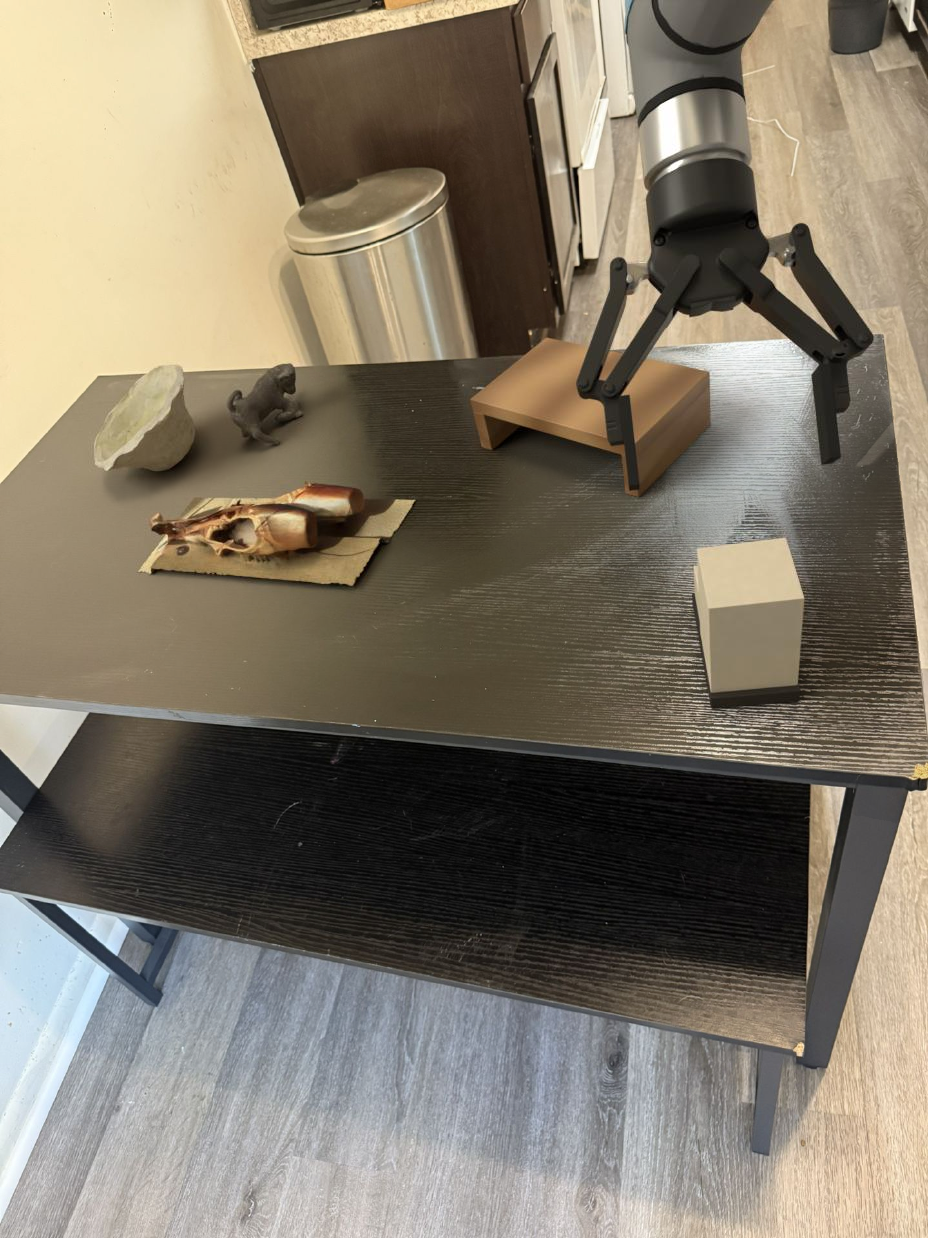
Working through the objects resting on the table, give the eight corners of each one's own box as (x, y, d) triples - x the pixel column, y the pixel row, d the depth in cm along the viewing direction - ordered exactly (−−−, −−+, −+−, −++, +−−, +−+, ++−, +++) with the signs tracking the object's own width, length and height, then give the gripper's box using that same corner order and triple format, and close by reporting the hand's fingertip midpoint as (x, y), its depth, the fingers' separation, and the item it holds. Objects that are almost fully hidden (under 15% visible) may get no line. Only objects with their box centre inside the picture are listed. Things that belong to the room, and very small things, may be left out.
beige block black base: (799, 701, 62) (807, 603, 55) (710, 709, 63) (707, 614, 56) (771, 594, 70) (775, 496, 63) (692, 603, 71) (687, 508, 64)
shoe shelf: (711, 424, 87) (709, 371, 83) (638, 497, 82) (633, 444, 78) (554, 385, 99) (546, 337, 95) (481, 447, 93) (469, 399, 89)
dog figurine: (269, 454, 102) (244, 400, 97) (233, 449, 105) (207, 396, 100) (324, 398, 109) (304, 344, 104) (289, 395, 111) (267, 342, 106)
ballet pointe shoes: (351, 542, 76) (98, 537, 86) (373, 594, 81) (132, 584, 91) (398, 446, 85) (164, 451, 94) (416, 498, 89) (191, 498, 99)
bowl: (112, 448, 112) (71, 380, 105) (215, 414, 112) (181, 343, 105) (105, 513, 101) (59, 441, 94) (220, 475, 101) (182, 401, 94)
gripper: (869, 169, 63) (902, 458, 63) (532, 236, 68) (561, 503, 68) (900, 112, 56) (936, 439, 56) (519, 191, 61) (552, 491, 61)
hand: (730, 475), depth 62 cm, fingers open, 13 cm apart
